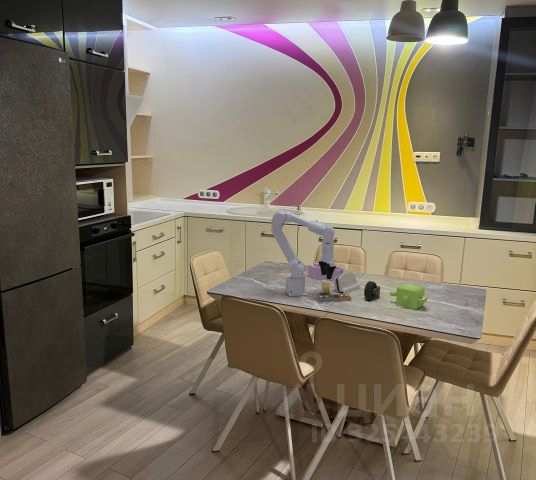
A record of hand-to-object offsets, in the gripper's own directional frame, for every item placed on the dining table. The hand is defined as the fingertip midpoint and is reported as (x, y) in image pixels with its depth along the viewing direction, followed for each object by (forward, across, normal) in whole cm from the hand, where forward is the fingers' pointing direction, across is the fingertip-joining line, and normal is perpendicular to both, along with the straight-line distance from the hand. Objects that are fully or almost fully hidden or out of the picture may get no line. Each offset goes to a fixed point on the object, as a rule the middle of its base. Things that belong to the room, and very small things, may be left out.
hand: (326, 277), depth 249 cm
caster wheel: (+10, -7, -23) cm, 26 cm away
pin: (+10, 0, 0) cm, 10 cm away
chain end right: (+10, -6, -5) cm, 13 cm away
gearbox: (+10, -21, -34) cm, 41 cm away
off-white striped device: (+10, +9, -15) cm, 20 cm away
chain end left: (+10, -7, +1) cm, 12 cm away
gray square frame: (+10, 0, 0) cm, 10 cm away
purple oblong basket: (+10, +33, -12) cm, 37 cm away
